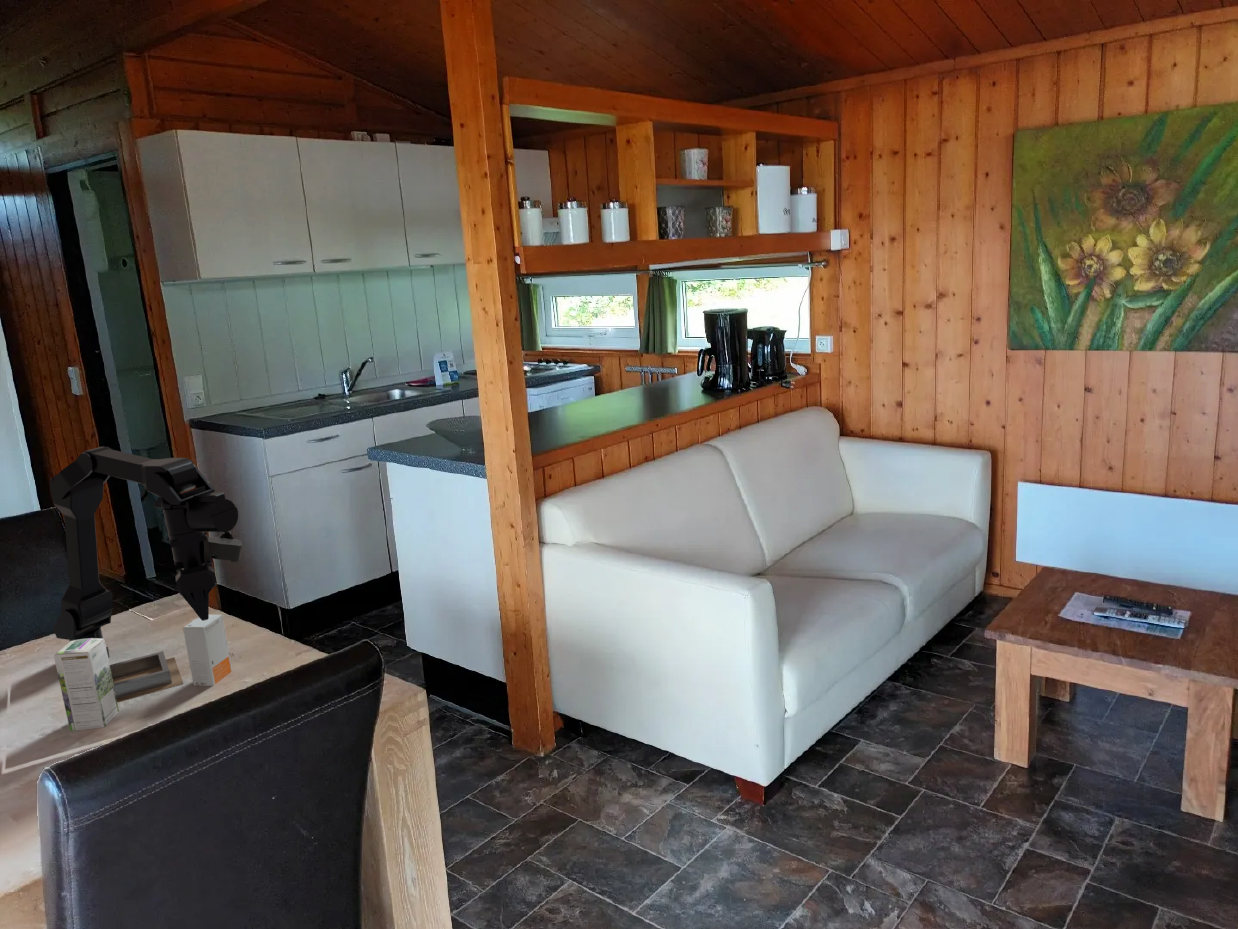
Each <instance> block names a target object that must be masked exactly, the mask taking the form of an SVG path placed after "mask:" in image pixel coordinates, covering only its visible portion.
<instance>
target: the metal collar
mask: <svg viewBox="0 0 1238 929" xmlns="http://www.w3.org/2000/svg"><path fill="white" fill-rule="evenodd" d="M156 667H161V670H162V671H159V672H155V673H151V674H148V675H144V676H140V677H136V678H133V679H129V680H125V681H122V682H118V683H114V689H115V694H116V699H117V698H120V697H124V696H128V695H131V694H135V693H138V692H142V691H146V690H149V689H153V688H156V687H160V686H164V685H167V684H171V683H172V681H171V676H170V671H169V668H168V665H167V662H166V655H165V653H164V650H162V651H159V652H155V653H151V654H147V655H143V656H139V657H135V658H132V659H128V660H124V661H120V662H117V663H112V664H110V669H111V674H112V679H115V678H119V677H123V676H126V675H130V674H134V673H138V672H141V671H145V670H149V669H152V668H156Z"/></svg>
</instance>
